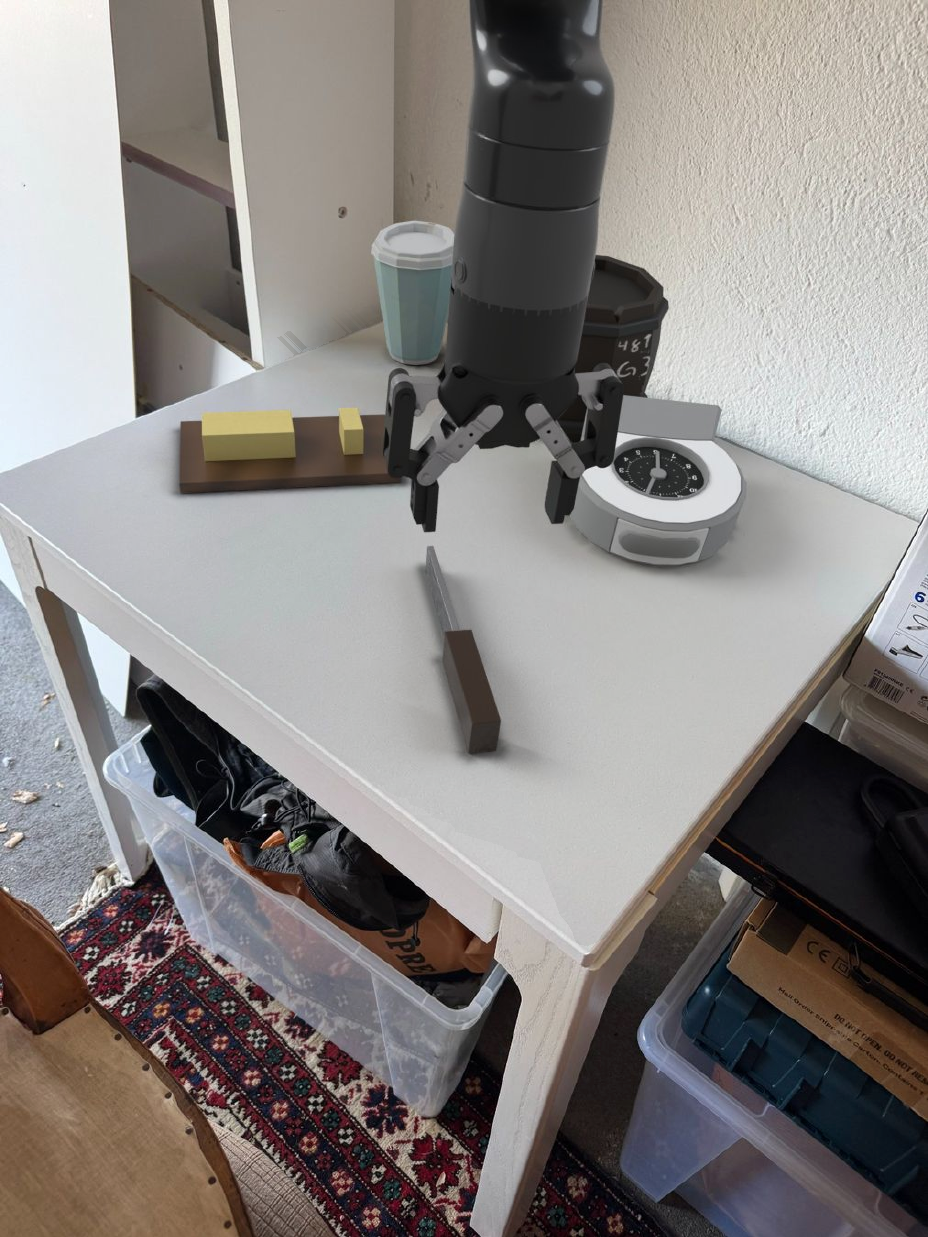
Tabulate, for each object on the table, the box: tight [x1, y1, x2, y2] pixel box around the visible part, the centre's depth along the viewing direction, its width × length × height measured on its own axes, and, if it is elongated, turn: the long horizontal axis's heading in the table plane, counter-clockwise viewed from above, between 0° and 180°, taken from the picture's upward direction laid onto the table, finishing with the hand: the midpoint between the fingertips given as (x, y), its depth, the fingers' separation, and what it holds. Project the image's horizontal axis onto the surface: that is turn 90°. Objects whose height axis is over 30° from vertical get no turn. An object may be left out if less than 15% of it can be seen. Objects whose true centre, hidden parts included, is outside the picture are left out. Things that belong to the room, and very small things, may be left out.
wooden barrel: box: [557, 254, 670, 443], centre depth 105 cm, size 18×18×16 cm
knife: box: [425, 545, 502, 755], centre depth 76 cm, size 22×2×3 cm, turn 12°
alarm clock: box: [568, 395, 747, 567], centre depth 93 cm, size 17×9×19 cm
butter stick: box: [201, 409, 295, 461], centre depth 95 cm, size 9×4×3 cm, turn 102°
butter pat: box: [338, 407, 363, 455], centre depth 97 cm, size 2×4×3 cm, turn 12°
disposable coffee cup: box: [370, 220, 455, 366], centre depth 113 cm, size 11×11×15 cm
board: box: [178, 413, 403, 494], centre depth 97 cm, size 22×12×1 cm, turn 102°
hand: (490, 521), depth 61 cm, fingers open, 8 cm apart
